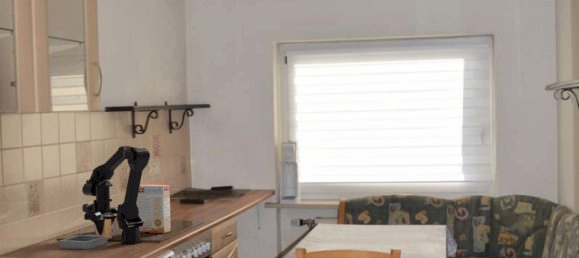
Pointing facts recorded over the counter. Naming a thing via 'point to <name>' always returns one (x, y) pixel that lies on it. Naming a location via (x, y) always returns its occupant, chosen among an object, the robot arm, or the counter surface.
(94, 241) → the block holder
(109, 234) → the plain tan block
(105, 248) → the counter surface
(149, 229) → the cracker box
